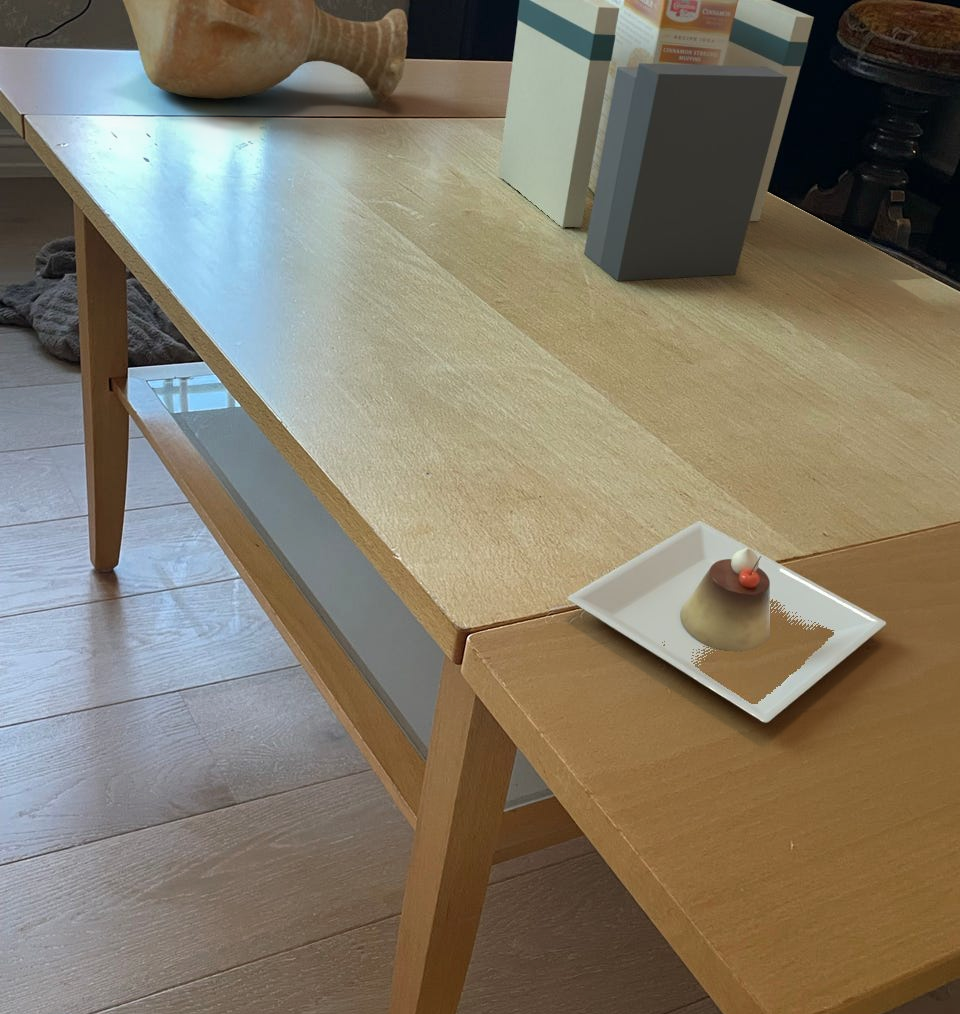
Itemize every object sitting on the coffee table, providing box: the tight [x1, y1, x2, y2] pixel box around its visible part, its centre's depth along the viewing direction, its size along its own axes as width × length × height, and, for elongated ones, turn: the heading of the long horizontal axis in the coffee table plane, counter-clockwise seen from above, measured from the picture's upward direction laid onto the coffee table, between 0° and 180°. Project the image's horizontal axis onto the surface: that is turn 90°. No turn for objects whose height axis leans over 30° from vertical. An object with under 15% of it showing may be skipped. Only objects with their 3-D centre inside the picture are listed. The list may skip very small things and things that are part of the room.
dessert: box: [567, 520, 887, 724], centre depth 58 cm, size 12×12×5 cm
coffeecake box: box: [588, 0, 739, 195], centre depth 108 cm, size 15×7×20 cm, turn 13°
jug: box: [122, 0, 409, 103], centre depth 121 cm, size 20×19×30 cm
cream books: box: [497, 0, 815, 229], centre depth 108 cm, size 22×14×18 cm, turn 114°
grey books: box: [583, 63, 787, 282], centre depth 96 cm, size 12×6×16 cm, turn 114°
